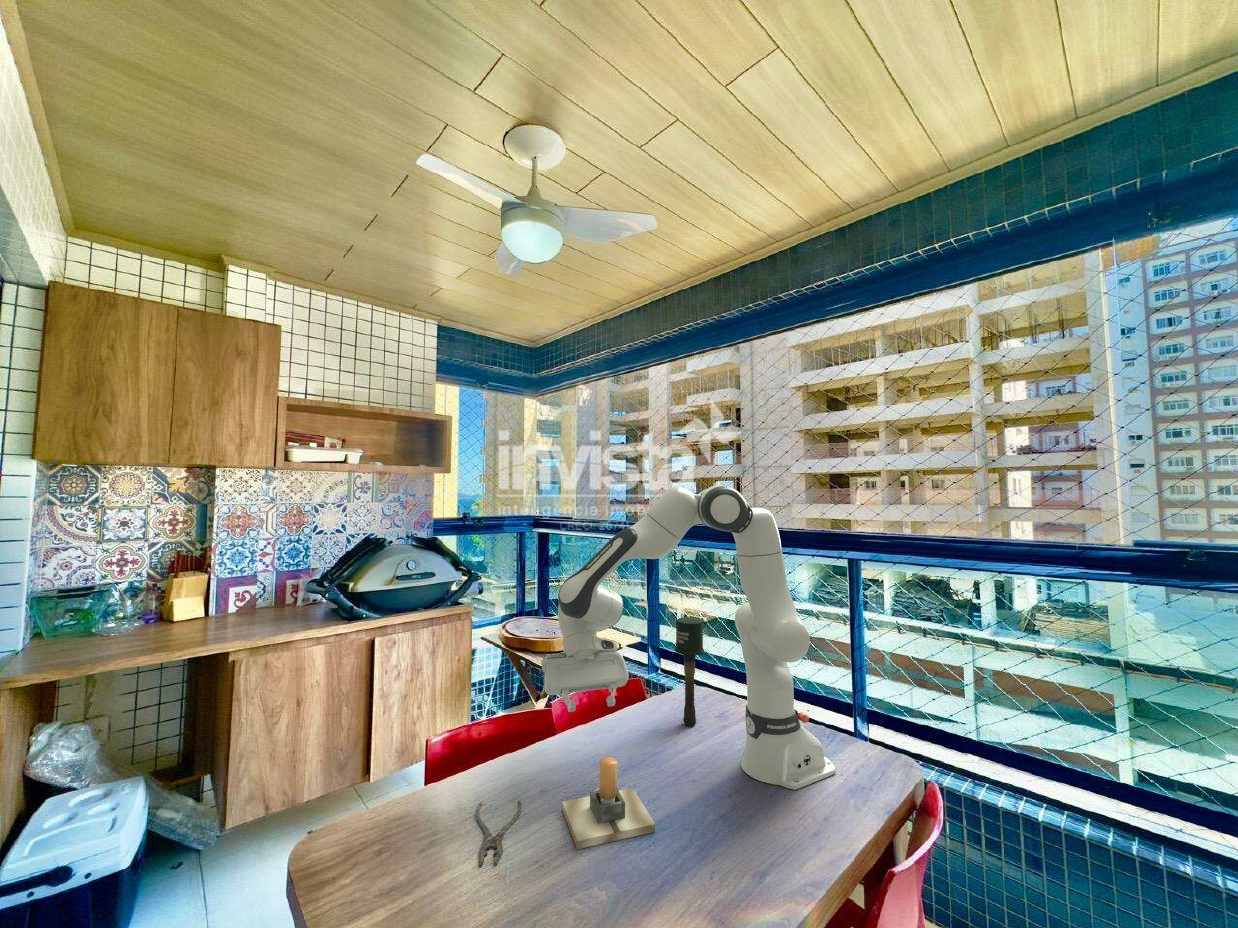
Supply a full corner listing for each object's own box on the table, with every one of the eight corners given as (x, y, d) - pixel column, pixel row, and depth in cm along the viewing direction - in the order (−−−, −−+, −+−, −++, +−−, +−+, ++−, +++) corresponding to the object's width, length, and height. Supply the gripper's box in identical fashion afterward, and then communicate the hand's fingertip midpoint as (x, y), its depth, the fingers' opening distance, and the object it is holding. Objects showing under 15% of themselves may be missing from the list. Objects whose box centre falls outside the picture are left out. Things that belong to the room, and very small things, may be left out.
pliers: (520, 794, 112) (533, 854, 93) (520, 798, 112) (533, 859, 93) (474, 802, 109) (479, 866, 90) (474, 806, 109) (479, 871, 90)
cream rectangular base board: (632, 794, 113) (632, 773, 113) (655, 831, 101) (655, 807, 101) (562, 808, 108) (562, 786, 108) (577, 849, 96) (577, 824, 96)
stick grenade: (673, 717, 152) (673, 616, 154) (702, 718, 152) (702, 616, 154) (676, 730, 144) (675, 623, 146) (706, 731, 144) (706, 623, 145)
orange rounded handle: (613, 804, 107) (613, 755, 107) (618, 815, 103) (619, 764, 104) (596, 808, 105) (597, 758, 106) (601, 818, 102) (602, 767, 103)
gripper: (542, 649, 121) (549, 707, 111) (622, 641, 128) (636, 695, 118) (538, 662, 125) (545, 719, 115) (617, 654, 132) (629, 708, 122)
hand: (592, 707), depth 116 cm, fingers open, 8 cm apart
